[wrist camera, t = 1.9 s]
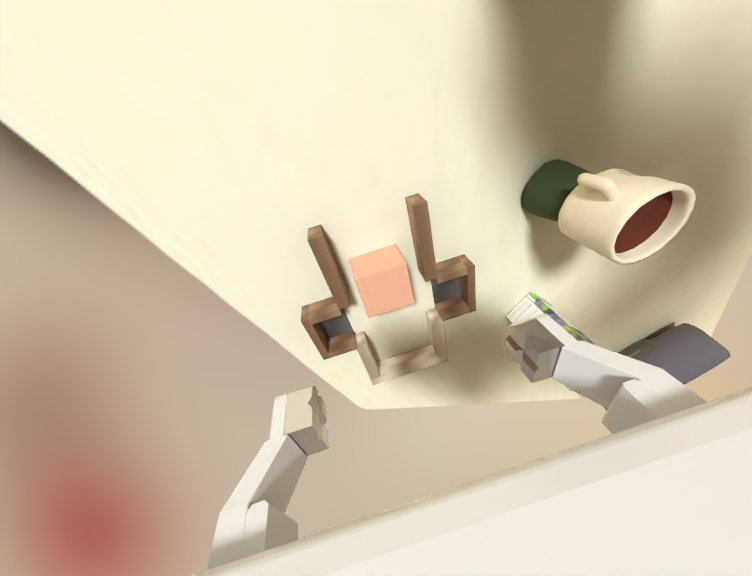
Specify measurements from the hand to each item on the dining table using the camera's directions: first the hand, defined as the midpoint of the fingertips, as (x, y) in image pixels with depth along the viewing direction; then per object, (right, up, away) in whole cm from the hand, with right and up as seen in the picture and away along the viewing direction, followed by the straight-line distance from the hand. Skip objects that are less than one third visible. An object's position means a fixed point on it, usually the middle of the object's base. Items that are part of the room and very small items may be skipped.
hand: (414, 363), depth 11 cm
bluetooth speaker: (+55, -11, +50) cm, 75 cm away
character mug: (+19, +16, +22) cm, 33 cm away
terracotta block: (-1, +5, +24) cm, 25 cm away
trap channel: (0, +1, +27) cm, 27 cm away
